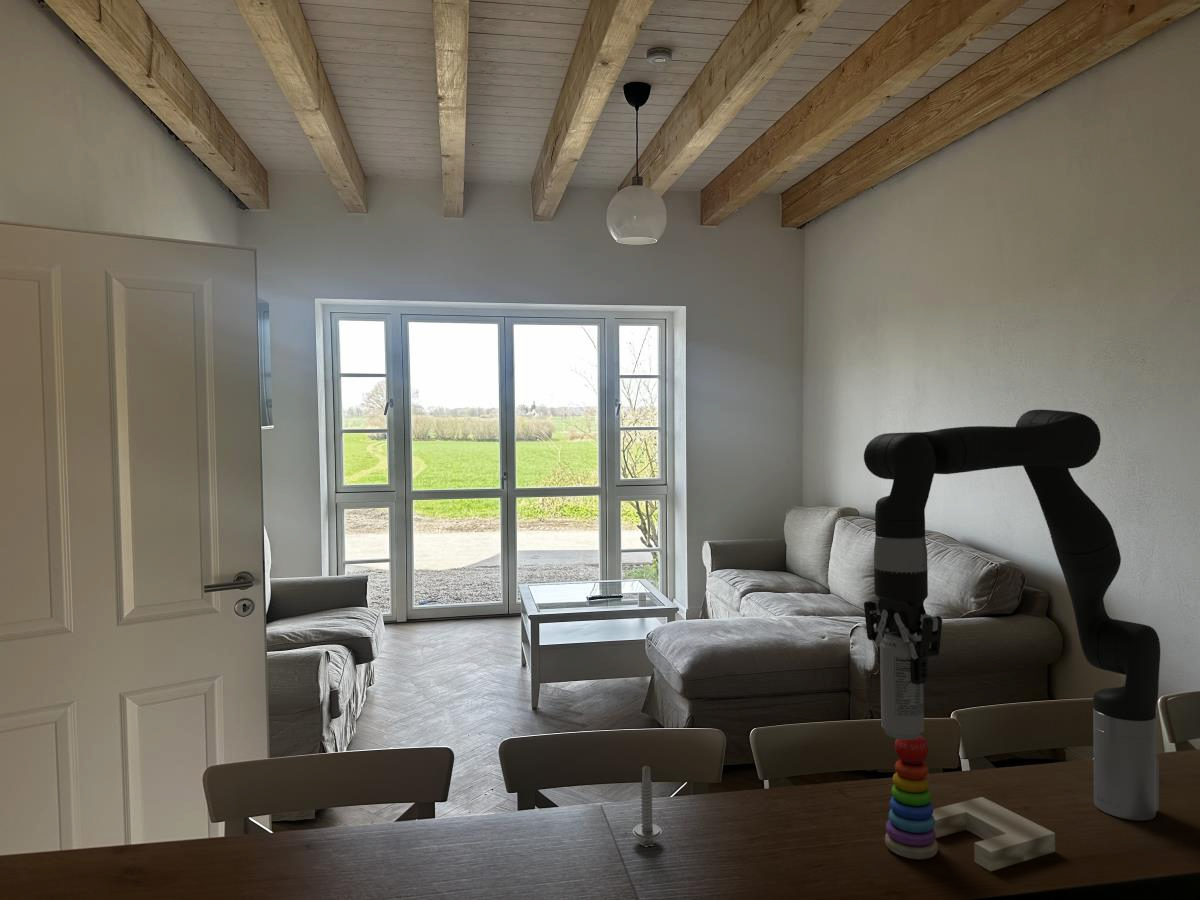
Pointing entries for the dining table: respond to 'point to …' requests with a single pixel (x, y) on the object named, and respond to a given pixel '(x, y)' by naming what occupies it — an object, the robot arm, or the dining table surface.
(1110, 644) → the robot arm
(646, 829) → the screw
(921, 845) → the stacking toy
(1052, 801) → the dining table surface
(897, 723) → the energy drink can
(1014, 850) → the notched board
